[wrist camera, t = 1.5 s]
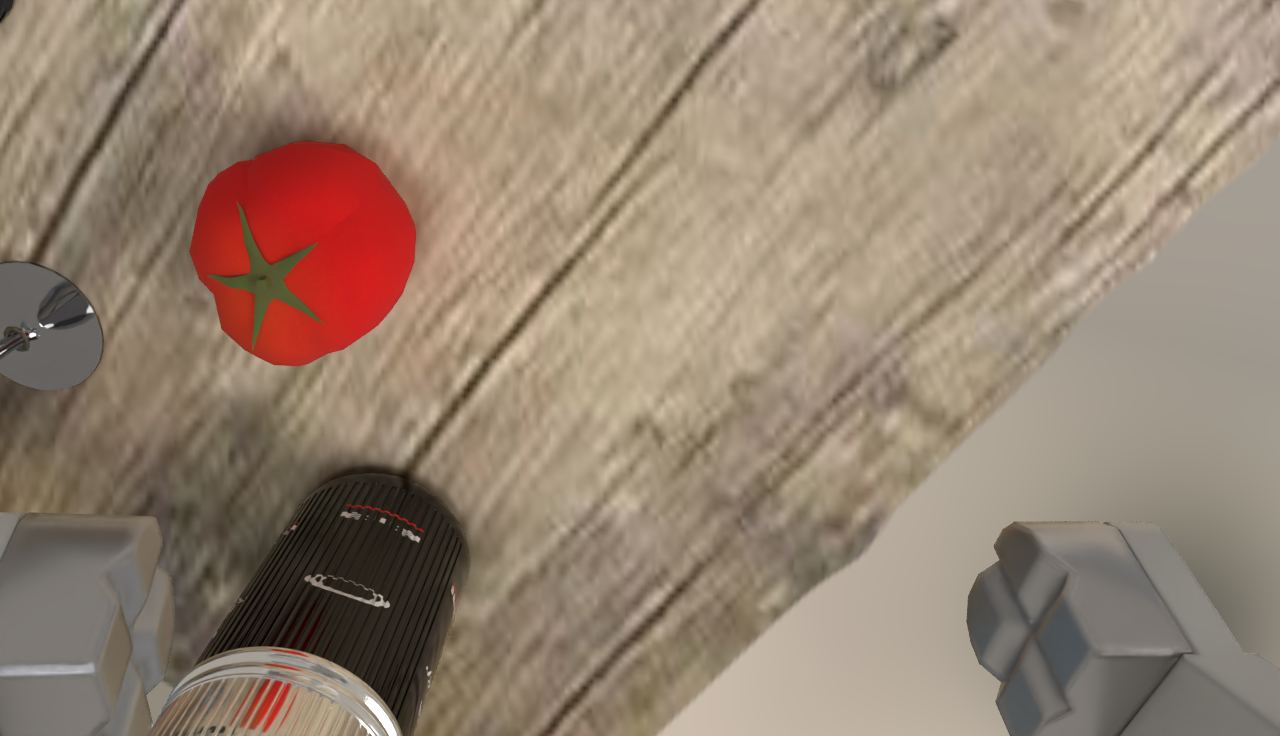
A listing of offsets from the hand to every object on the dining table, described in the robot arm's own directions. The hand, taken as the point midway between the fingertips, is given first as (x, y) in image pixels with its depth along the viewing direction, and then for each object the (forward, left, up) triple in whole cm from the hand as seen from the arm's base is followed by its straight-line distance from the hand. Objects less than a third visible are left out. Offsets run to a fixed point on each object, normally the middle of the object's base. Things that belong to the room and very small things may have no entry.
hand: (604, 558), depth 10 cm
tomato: (+19, 0, -40) cm, 44 cm away
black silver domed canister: (+27, +16, -40) cm, 51 cm away
